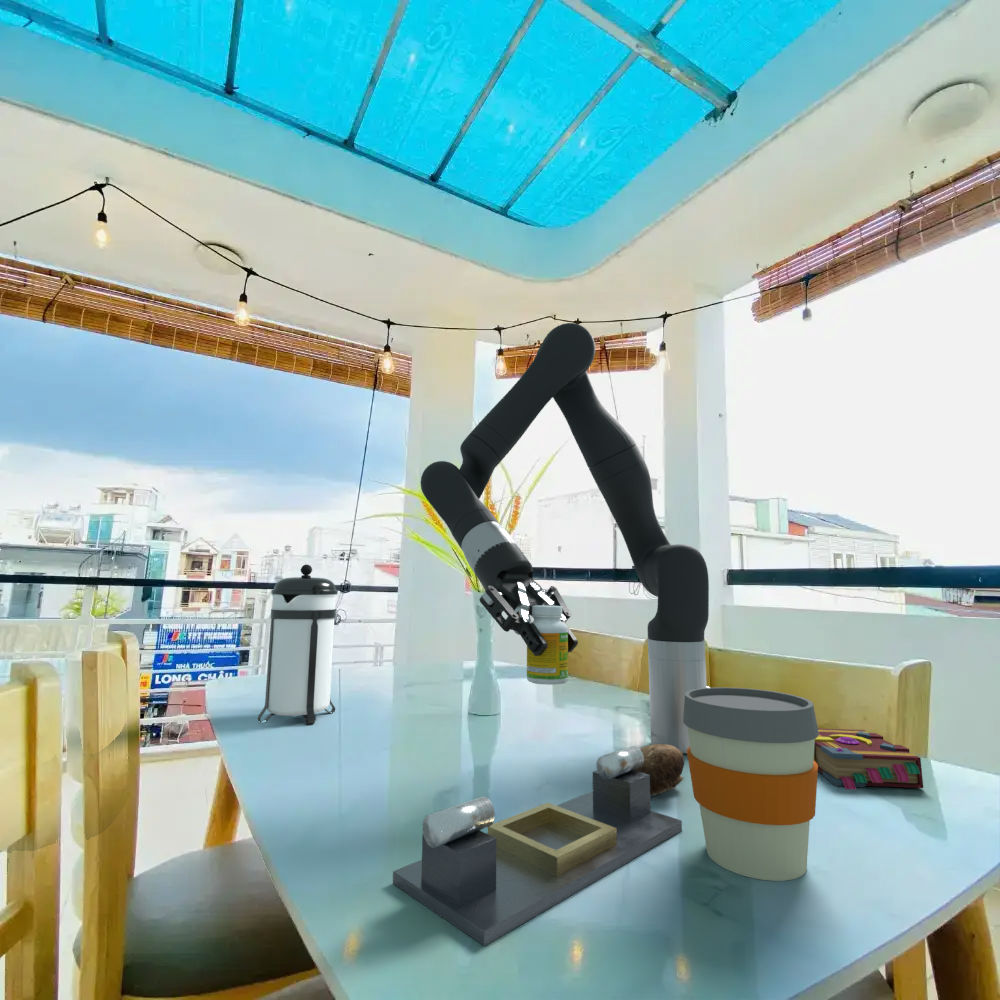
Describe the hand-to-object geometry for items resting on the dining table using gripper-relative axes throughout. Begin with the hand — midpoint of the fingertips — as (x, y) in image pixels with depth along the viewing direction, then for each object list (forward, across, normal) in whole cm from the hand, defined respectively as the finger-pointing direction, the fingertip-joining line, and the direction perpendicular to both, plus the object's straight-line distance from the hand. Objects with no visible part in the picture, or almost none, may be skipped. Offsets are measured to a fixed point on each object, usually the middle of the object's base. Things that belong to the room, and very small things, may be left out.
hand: (557, 649), depth 73 cm
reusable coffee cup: (+29, +2, -4) cm, 30 cm away
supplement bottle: (+2, 0, +4) cm, 5 cm away
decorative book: (+29, +39, -3) cm, 49 cm away
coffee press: (-32, -5, +58) cm, 66 cm away
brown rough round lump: (+18, +11, +8) cm, 23 cm away
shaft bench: (+19, -12, +6) cm, 23 cm away
